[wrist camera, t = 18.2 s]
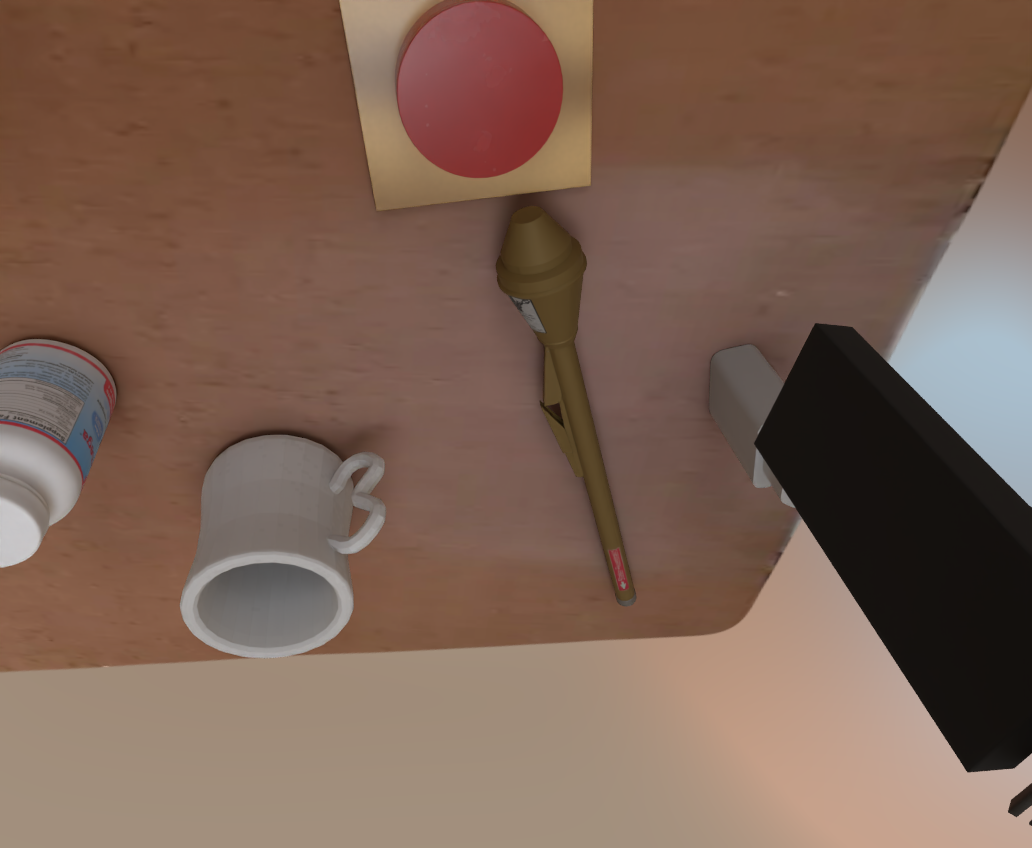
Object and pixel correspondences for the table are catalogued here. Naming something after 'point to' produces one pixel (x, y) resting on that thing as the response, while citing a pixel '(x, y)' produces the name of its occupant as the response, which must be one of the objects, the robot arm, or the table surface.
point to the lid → (478, 87)
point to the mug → (278, 546)
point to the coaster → (391, 154)
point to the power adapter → (745, 407)
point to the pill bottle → (46, 437)
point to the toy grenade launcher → (562, 359)
